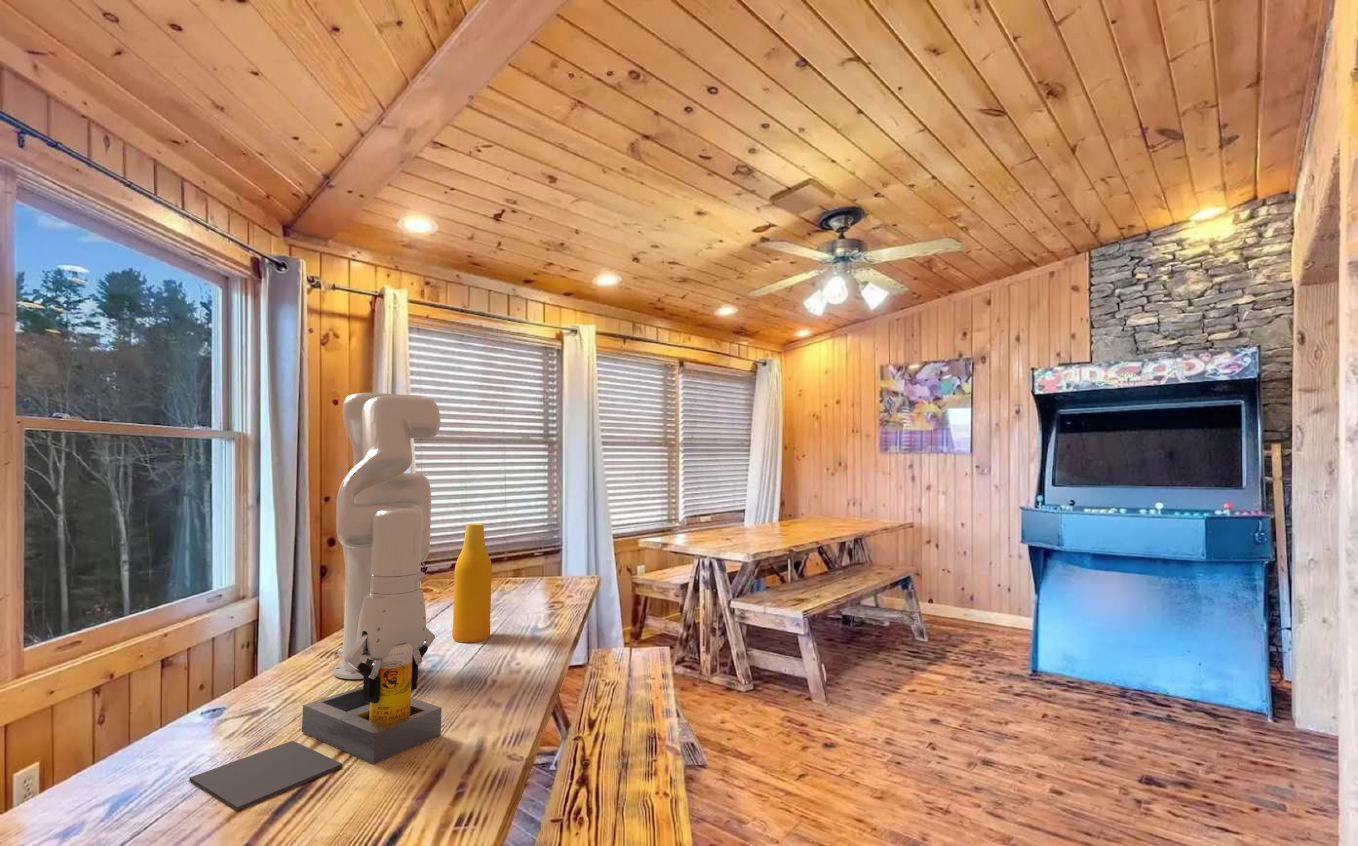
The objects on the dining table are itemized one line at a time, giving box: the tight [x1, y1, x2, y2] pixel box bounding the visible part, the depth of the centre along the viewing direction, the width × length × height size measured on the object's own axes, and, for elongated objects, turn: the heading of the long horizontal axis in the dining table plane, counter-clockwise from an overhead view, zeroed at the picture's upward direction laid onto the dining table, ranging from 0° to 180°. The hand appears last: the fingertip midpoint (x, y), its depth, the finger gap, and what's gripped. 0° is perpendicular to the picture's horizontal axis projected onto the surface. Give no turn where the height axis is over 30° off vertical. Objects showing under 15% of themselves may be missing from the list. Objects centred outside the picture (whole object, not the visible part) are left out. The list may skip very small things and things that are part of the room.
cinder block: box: [301, 685, 443, 765], centre depth 105 cm, size 20×12×4 cm, turn 58°
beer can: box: [369, 642, 413, 726], centre depth 103 cm, size 6×6×15 cm
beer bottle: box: [451, 522, 493, 643], centre depth 162 cm, size 9×9×29 cm
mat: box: [188, 740, 344, 812], centre depth 91 cm, size 14×14×1 cm
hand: (390, 693), depth 103 cm, fingers closed on beer can, 6 cm apart
